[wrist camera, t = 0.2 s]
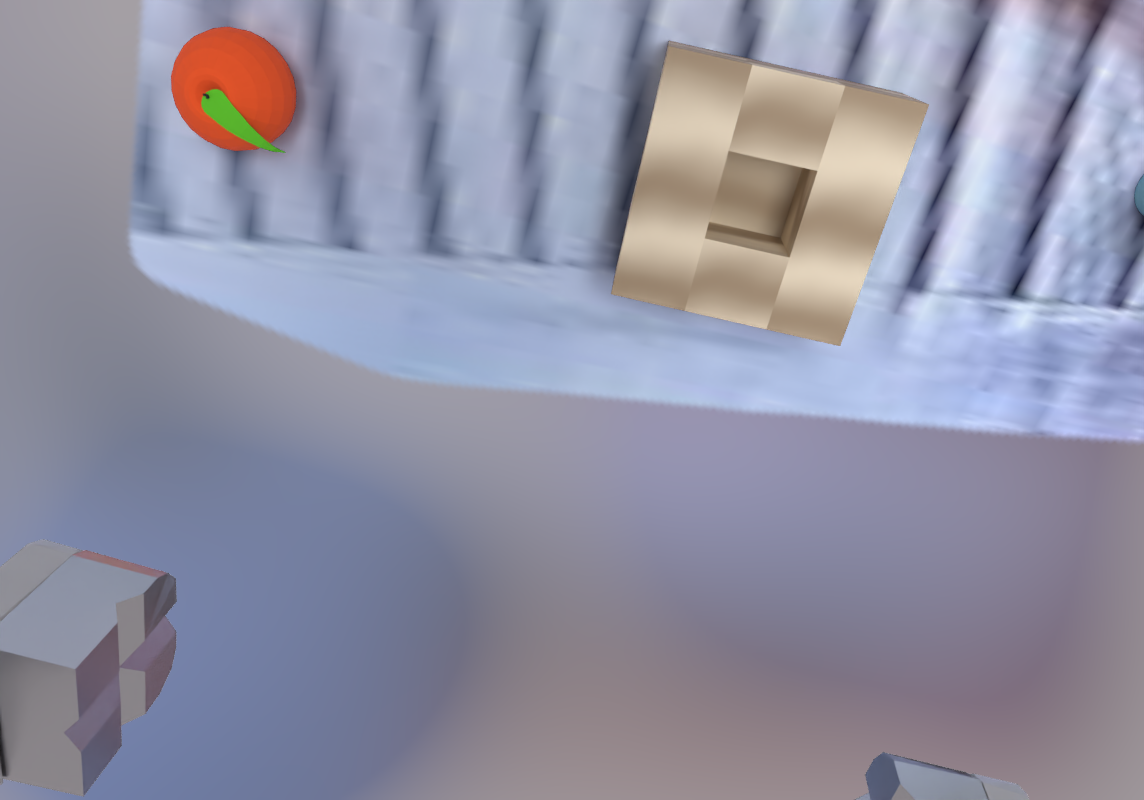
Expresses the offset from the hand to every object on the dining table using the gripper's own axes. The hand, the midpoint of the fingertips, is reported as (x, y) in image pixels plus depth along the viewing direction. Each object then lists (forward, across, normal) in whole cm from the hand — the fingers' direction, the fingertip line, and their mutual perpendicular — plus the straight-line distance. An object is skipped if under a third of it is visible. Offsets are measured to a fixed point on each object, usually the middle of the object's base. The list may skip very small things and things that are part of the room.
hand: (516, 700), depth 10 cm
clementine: (+48, +24, +4) cm, 54 cm away
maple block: (+48, -7, +2) cm, 48 cm away
